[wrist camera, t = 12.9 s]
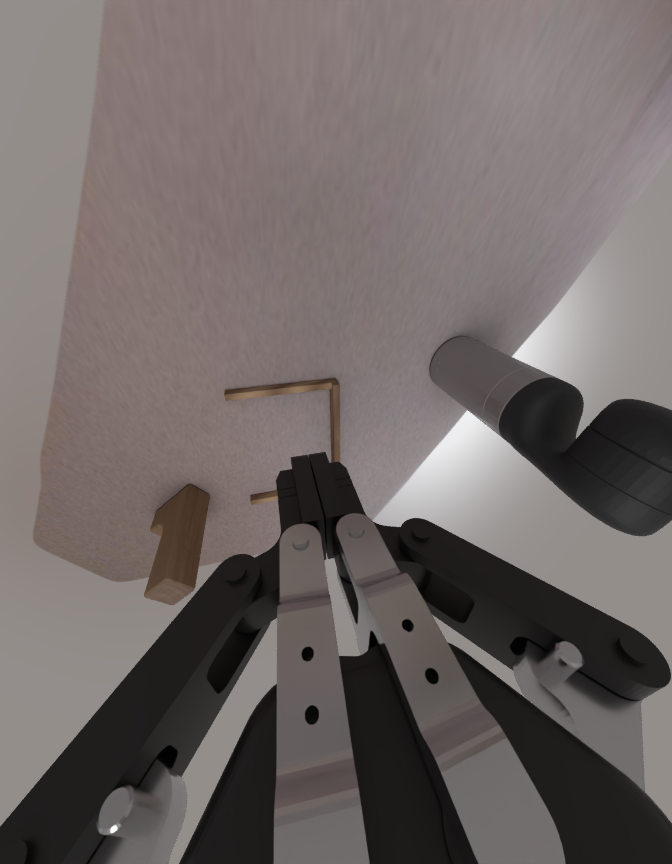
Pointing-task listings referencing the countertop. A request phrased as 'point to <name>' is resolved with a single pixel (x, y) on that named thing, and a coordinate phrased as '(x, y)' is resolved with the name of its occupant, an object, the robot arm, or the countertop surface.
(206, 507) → the wooden block
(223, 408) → the countertop surface
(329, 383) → the frame
